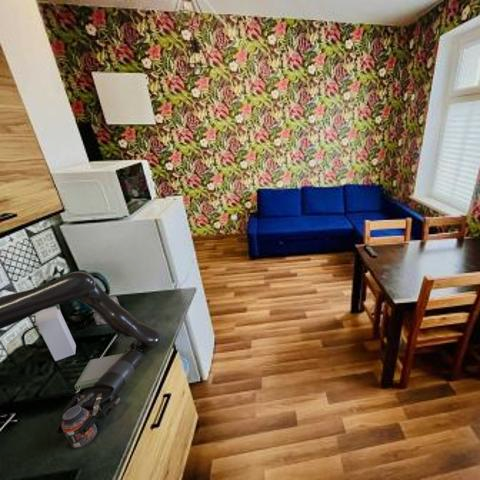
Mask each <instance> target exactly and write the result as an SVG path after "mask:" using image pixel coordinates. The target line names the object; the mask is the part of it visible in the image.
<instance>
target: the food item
mask: <svg viewBox="0 0 480 480" xmlns="http://www.w3.org/2000/svg"><path fill="white" fill-rule="evenodd" d="M108 296H109V295H108ZM109 297H110V298H111V299H112V300H113V301H115V302H116V303H117V304H118V305H120V306H121V304H120V303H119V300H118V298H117V296H114V295H110V296H109ZM93 318H94V322H95V323H96V325H97V326H102V325H108V324H107V323H106V322H105V321H104V320H103V319H102V318H101V317H100V316H99V315H98V314H97V313H96V312H95V311H94V310H93Z"/></svg>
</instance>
